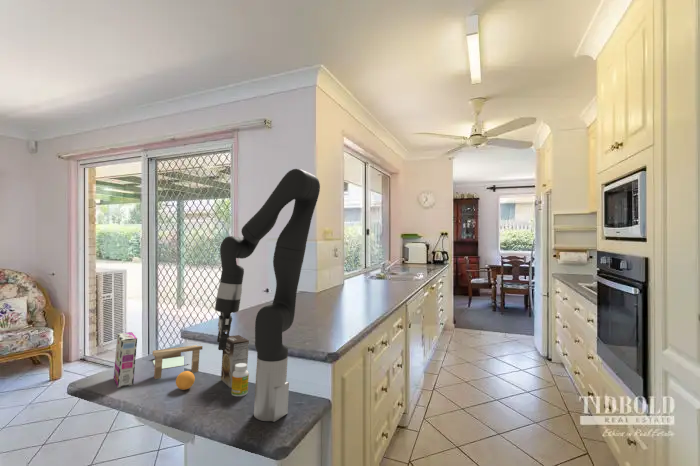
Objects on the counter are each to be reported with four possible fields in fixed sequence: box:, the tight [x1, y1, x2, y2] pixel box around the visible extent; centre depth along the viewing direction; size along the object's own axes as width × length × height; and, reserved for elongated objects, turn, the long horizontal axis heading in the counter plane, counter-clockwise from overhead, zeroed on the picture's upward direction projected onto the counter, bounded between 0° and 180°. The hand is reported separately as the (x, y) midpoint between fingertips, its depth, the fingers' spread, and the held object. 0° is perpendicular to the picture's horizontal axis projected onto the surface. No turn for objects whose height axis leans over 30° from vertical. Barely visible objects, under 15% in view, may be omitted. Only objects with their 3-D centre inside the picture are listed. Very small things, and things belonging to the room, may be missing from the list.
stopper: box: [154, 352, 182, 360], centre depth 147 cm, size 2×10×2 cm, turn 127°
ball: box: [175, 370, 196, 391], centre depth 117 cm, size 6×6×6 cm
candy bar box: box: [113, 332, 138, 389], centre depth 121 cm, size 11×5×16 cm, turn 42°
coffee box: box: [220, 334, 250, 389], centre depth 124 cm, size 9×6×16 cm
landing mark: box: [152, 355, 185, 370], centre depth 140 cm, size 12×12×1 cm
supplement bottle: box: [230, 363, 250, 397], centre depth 115 cm, size 5×5×10 cm
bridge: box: [152, 344, 203, 380], centre depth 129 cm, size 3×17×10 cm, turn 127°
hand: (220, 345), depth 110 cm, fingers open, 8 cm apart
